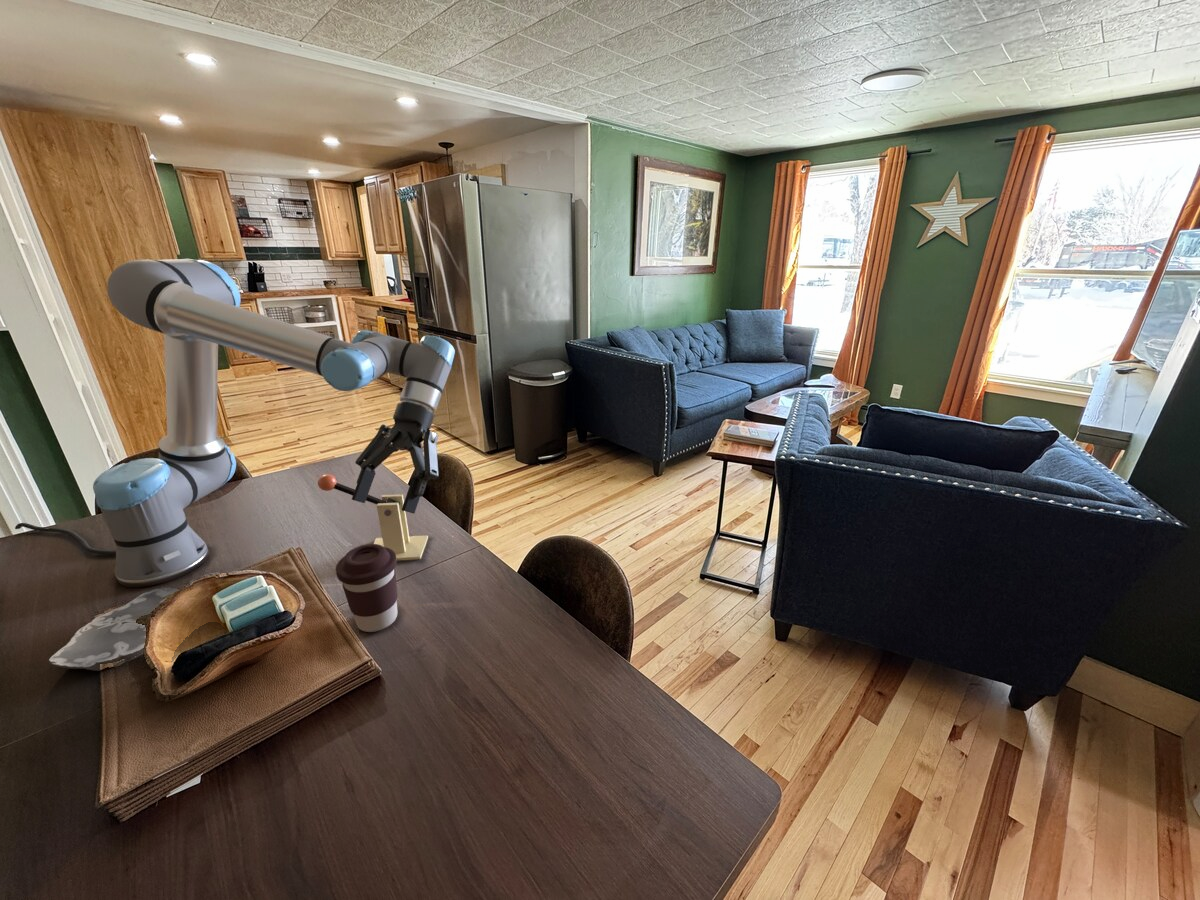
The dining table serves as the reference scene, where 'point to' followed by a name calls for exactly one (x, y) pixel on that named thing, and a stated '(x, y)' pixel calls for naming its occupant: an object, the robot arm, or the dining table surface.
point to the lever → (345, 489)
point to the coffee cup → (370, 585)
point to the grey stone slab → (111, 635)
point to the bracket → (398, 530)
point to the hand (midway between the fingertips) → (382, 506)
